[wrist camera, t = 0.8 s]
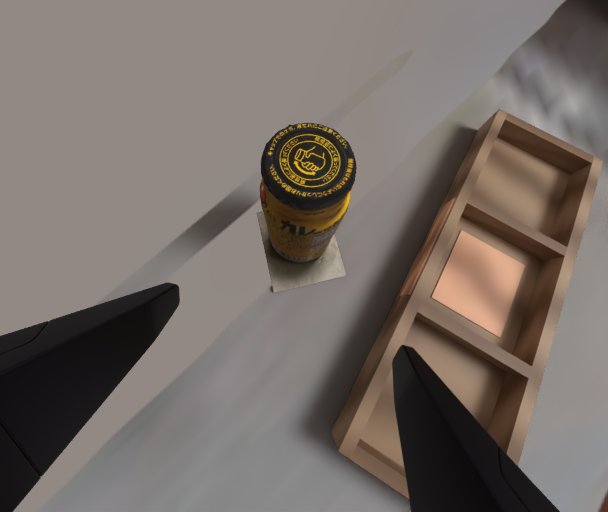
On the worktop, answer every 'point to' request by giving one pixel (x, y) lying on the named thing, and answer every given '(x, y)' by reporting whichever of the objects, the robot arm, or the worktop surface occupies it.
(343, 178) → the condiment
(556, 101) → the worktop surface
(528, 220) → the tray
